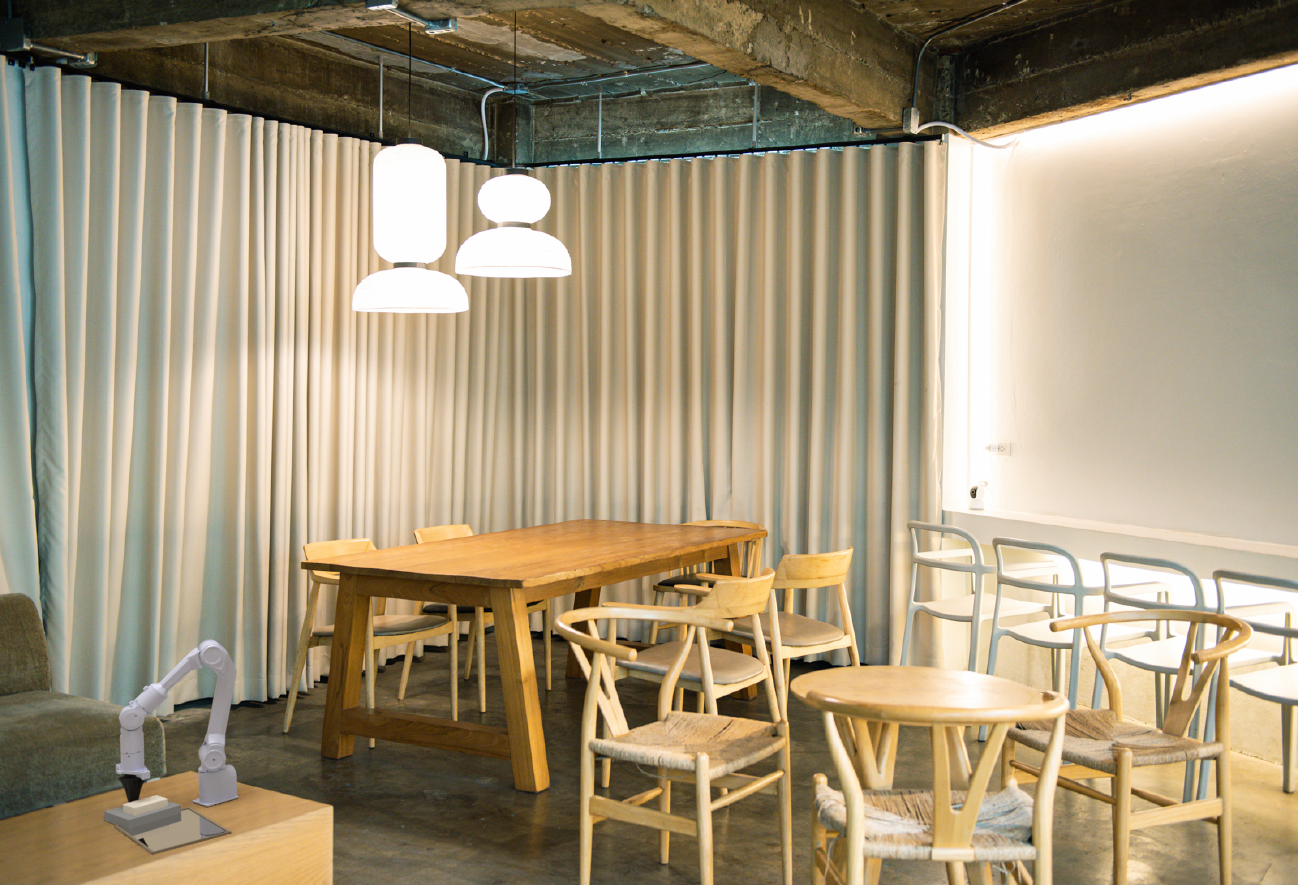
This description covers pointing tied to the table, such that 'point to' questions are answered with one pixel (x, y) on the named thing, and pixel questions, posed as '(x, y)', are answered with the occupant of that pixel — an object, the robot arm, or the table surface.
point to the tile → (145, 805)
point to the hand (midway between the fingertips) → (133, 801)
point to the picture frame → (174, 831)
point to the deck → (131, 821)
